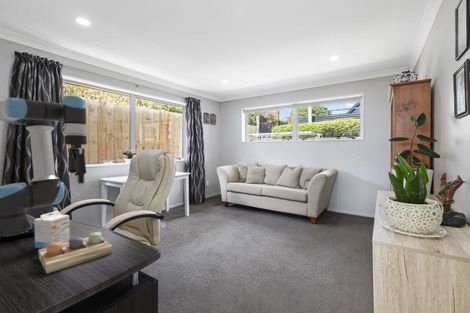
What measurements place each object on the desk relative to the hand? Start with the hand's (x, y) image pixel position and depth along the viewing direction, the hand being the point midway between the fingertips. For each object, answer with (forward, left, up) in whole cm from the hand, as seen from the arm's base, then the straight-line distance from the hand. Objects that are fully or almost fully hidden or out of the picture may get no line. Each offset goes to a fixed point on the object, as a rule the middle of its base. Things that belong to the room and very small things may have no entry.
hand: (77, 189), depth 95 cm
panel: (+9, -3, -23) cm, 25 cm away
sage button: (+9, +4, -20) cm, 22 cm away
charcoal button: (+9, -3, -20) cm, 22 cm away
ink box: (-10, -7, -24) cm, 27 cm away
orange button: (+9, -9, -20) cm, 24 cm away
